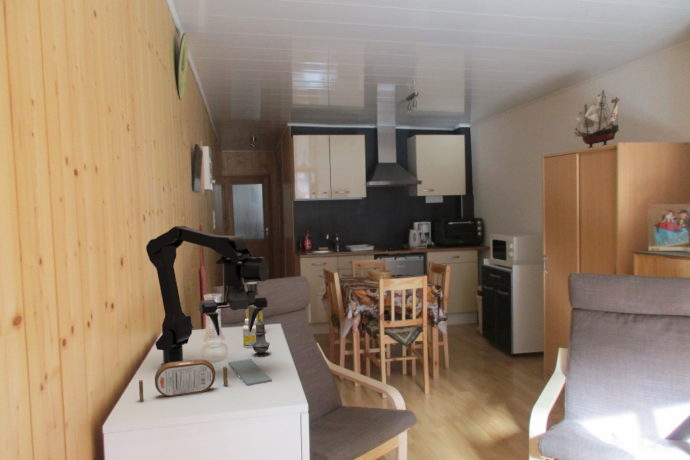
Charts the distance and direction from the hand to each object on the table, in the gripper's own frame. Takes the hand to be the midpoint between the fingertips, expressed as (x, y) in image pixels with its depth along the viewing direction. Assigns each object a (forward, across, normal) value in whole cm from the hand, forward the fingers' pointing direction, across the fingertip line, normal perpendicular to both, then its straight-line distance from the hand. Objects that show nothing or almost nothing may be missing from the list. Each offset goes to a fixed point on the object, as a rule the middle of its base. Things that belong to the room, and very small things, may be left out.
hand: (234, 333), depth 142 cm
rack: (+12, -15, -9) cm, 21 cm away
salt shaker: (+12, +12, +14) cm, 22 cm away
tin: (+12, -15, -10) cm, 22 cm away
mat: (+12, +4, -1) cm, 12 cm away
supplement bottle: (+12, +12, +26) cm, 31 cm away
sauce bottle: (+12, +18, +42) cm, 48 cm away
